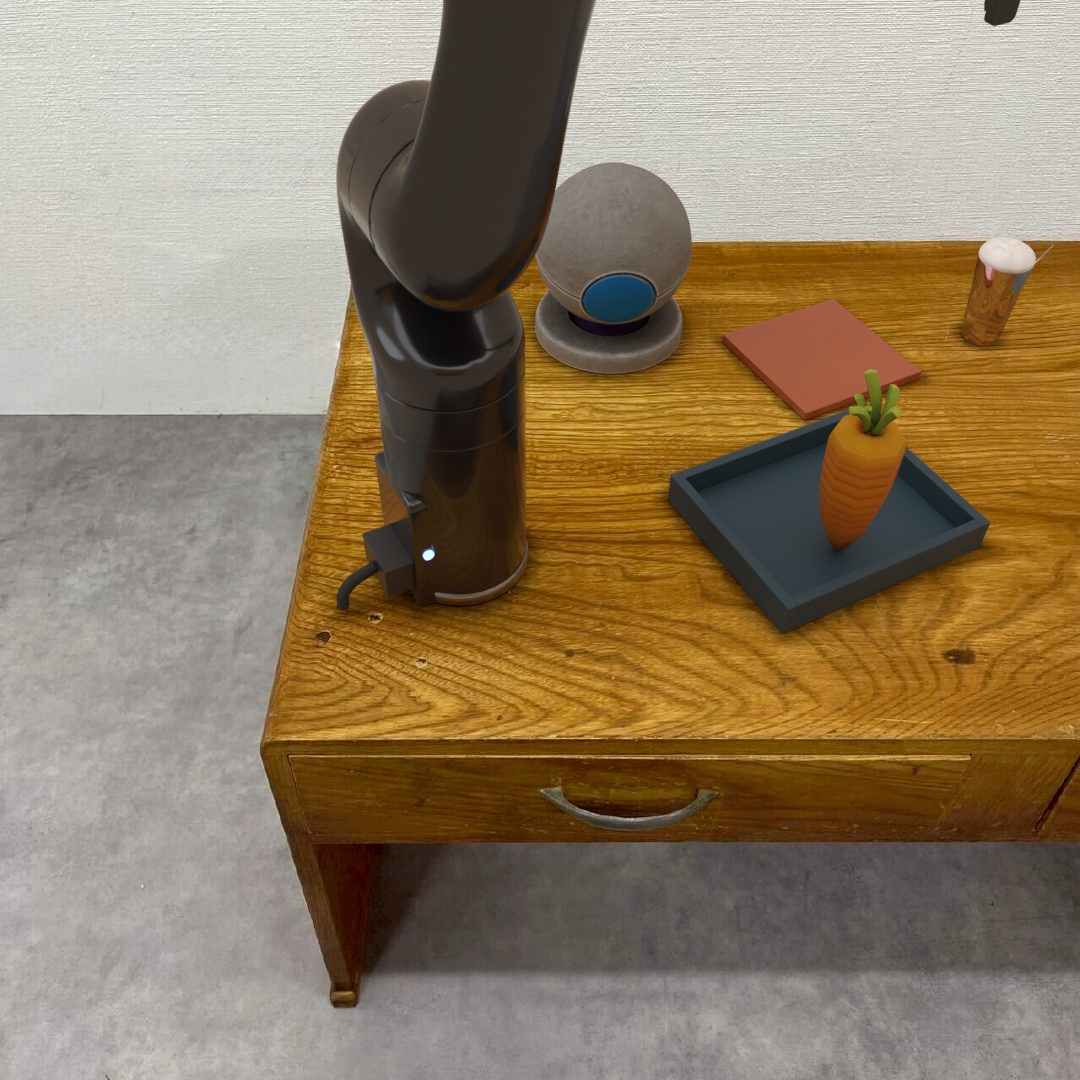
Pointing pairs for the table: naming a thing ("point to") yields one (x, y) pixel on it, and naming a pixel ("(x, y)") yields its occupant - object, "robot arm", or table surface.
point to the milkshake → (996, 288)
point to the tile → (818, 357)
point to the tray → (817, 525)
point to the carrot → (860, 464)
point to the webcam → (613, 270)
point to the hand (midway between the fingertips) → (1045, 46)
